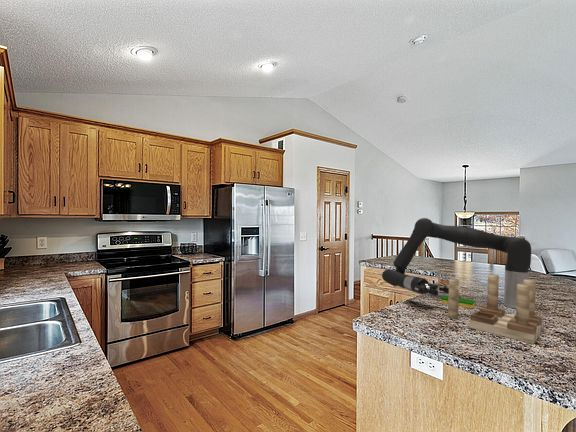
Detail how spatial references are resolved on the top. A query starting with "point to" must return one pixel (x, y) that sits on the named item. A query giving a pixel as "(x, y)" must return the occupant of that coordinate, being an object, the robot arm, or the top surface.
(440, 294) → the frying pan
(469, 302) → the dish sponge
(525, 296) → the stool seat
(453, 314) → the stool leg
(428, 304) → the top surface
